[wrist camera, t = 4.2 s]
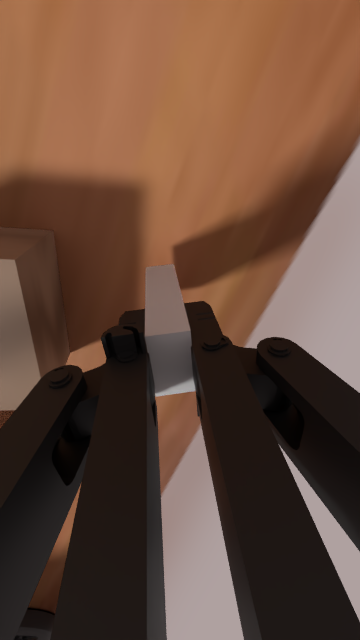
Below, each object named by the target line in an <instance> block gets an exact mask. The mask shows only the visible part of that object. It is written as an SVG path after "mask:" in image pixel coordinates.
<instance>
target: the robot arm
mask: <svg viewBox="0 0 360 640" xmlns="http://www.w3.org/2000/svg"><path fill="white" fill-rule="evenodd" d="M101 341H102V344H103V348H104V351H105V355H106V358H107V359H106V363H105V364H103V365H102V366H100V367H97V368H95V369H92V370H90V371H87V372H84V373H83V372H82V369H80V368H79V367H78V366H74V365H65V366H61V367H58V368H55V369H53V370H51V371H49V372H48V373H46V374H45V375H44V376H43V377H42V378H41V379H40V380H39V381H38V383H37V384H36V385H35V386H34V388H33V389H32V390H31V391H30V393H29V394H28V395H27V396H26V398H25V399H24V400H23V401H22V403H21V404H20V405H19V406H18V408H17V409H16V410H15V411H14V413H13V414H12V415H11V416H10V418H9V419H8V420H7V421H6V423H5V424H4V425H3V426H2V428H1V429H0V640H167V637H166V613H165V589H164V567H163V543H162V542H163V541H162V518H161V494H160V470H159V446H158V422H157V406H156V400H155V395H156V396H163V395H170V394H177V393H184V392H192V391H195V389H196V399H197V412H198V416H200V421H201V426H202V430H203V436H204V441H205V446H206V450H207V456H208V461H209V466H210V471H211V476H212V481H213V485H214V491H215V496H216V501H217V506H218V511H219V516H220V521H221V526H222V530H223V536H224V541H225V546H226V551H227V556H228V561H229V566H230V571H231V576H232V581H233V586H234V591H235V596H236V601H237V606H238V611H239V616H240V621H241V626H242V631H243V636H244V640H360V622H359V619H358V617H357V615H356V613H355V611H354V608H353V606H352V604H351V602H350V600H349V598H348V595H347V593H346V591H345V589H344V587H343V585H342V582H341V580H340V578H339V576H338V573H337V571H336V569H335V567H334V565H333V563H332V560H331V558H330V556H329V554H328V552H327V549H326V547H325V545H324V543H323V541H322V538H321V536H320V534H319V532H318V530H317V528H316V525H315V523H314V521H313V519H312V517H311V515H310V512H309V510H308V508H307V506H306V504H305V501H304V499H303V497H302V495H301V493H300V491H299V488H298V486H297V484H296V482H295V480H294V477H293V475H292V473H291V471H290V469H289V466H288V464H287V462H286V460H285V458H284V456H283V453H282V451H281V449H280V447H279V445H280V446H281V448H282V449H283V450H284V451H285V453H286V454H287V455H288V457H289V458H290V459H291V461H292V462H293V463H294V465H295V466H296V467H297V468H298V470H299V471H300V473H301V474H302V475H303V477H304V478H305V479H306V481H307V482H308V483H309V484H310V486H311V487H312V488H313V490H314V491H315V493H316V494H317V495H318V497H319V498H320V499H321V501H322V502H323V503H324V505H325V506H326V507H327V508H328V510H329V511H330V513H331V514H332V515H333V516H334V518H335V519H336V520H337V522H338V523H339V524H340V526H341V527H342V528H343V530H344V531H345V532H346V534H347V535H348V536H349V538H350V539H351V540H352V542H353V543H354V544H355V546H356V547H357V548H358V550H359V551H360V393H358V392H357V391H356V390H355V389H354V388H352V387H351V386H350V385H348V384H347V383H346V382H344V381H343V380H342V379H341V378H339V377H338V376H337V375H336V374H334V373H333V372H332V371H330V370H329V369H328V368H327V367H325V366H324V365H323V364H321V363H320V362H319V361H318V360H316V359H315V358H314V357H312V356H311V355H310V354H309V353H307V352H306V351H305V350H304V349H302V348H301V347H300V346H298V345H297V344H296V343H294V342H292V341H291V340H288V339H285V338H279V337H271V338H266V339H264V340H261V341H260V342H259V344H258V345H257V349H254V348H243V347H238V346H235V345H233V344H232V342H231V340H230V339H229V338H228V337H226V336H224V335H223V334H222V331H221V329H220V327H219V324H218V322H217V320H216V318H215V315H214V313H213V311H212V308H211V306H210V305H209V304H207V303H206V302H204V301H199V302H191V303H184V302H183V298H182V294H181V290H180V286H179V282H178V278H177V275H176V271H175V267H174V264H169V265H161V266H152V267H146V285H145V309H141V310H133V311H125V313H124V314H123V315H122V316H121V317H120V319H119V325H118V326H114V327H112V328H110V329H108V330H107V331H106V332H104V333H103V335H102V337H101ZM81 482H82V483H81ZM80 484H81V488H80V493H79V498H78V503H77V508H76V513H75V518H74V523H73V528H72V533H71V538H70V543H69V548H68V553H67V558H66V563H65V568H64V573H63V578H62V583H61V588H60V593H59V598H58V603H57V608H56V613H55V616H54V615H52V614H50V613H47V612H43V611H37V610H28V609H27V608H28V606H29V603H30V601H31V599H32V596H33V594H34V592H35V589H36V587H37V585H38V582H39V580H40V578H41V575H42V573H43V571H44V568H45V566H46V564H47V561H48V559H49V557H50V554H51V552H52V550H53V547H54V545H55V543H56V540H57V538H58V536H59V533H60V531H61V529H62V526H63V524H64V522H65V519H66V517H67V515H68V512H69V510H70V508H71V505H72V503H73V501H74V498H75V496H76V494H77V491H78V489H79V487H80Z"/></svg>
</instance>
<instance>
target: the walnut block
mask: <svg viewBox="0 0 360 640" xmlns="http://www.w3.org/2000/svg"><path fill="white" fill-rule="evenodd" d="M69 355H70V348H69V341H68V333H67V326H66V319H65V312H64V304H63V297H62V290H61V283H60V275H59V268H58V261H57V253H56V246H55V239H54V232H53V230H39V229H24V228H10V227H0V411H4V410H16V409H17V408H18V406H19V405H20V404H21V403H22V401H23V400H24V399H25V398H26V396H27V395H28V394H29V393H30V391H31V390H32V389H33V388H34V386H35V385H36V384H37V383H38V381H39V380H40V379H41V378H42V377H43V376H44V375H45V374H46V373H48V372H49V371H51V370H53V369H55V368H58V367H61V366H65V365H66V362H67V360H68V357H69Z"/></svg>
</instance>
